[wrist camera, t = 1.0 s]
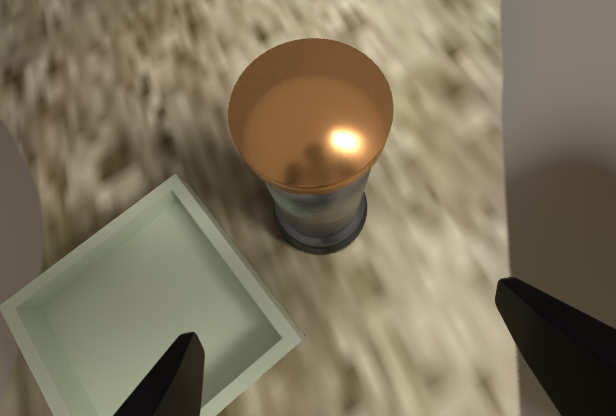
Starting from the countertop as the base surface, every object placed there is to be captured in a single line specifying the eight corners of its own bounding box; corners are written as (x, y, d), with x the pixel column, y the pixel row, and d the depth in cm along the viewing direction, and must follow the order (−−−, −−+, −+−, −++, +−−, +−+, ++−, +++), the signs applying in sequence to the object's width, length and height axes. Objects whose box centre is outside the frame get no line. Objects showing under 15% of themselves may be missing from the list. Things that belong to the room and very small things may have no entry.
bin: (304, 335, 21) (301, 340, 19) (130, 487, 20) (103, 513, 17) (190, 185, 25) (175, 173, 22) (32, 305, 23) (-2, 306, 21)
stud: (384, 215, 23) (387, 211, 22) (314, 274, 22) (314, 273, 21) (325, 152, 25) (325, 146, 24) (258, 205, 24) (255, 201, 23)
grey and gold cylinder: (380, 211, 22) (438, 113, 10) (314, 266, 22) (296, 230, 10) (325, 151, 24) (320, 5, 12) (261, 201, 23) (188, 100, 11)
